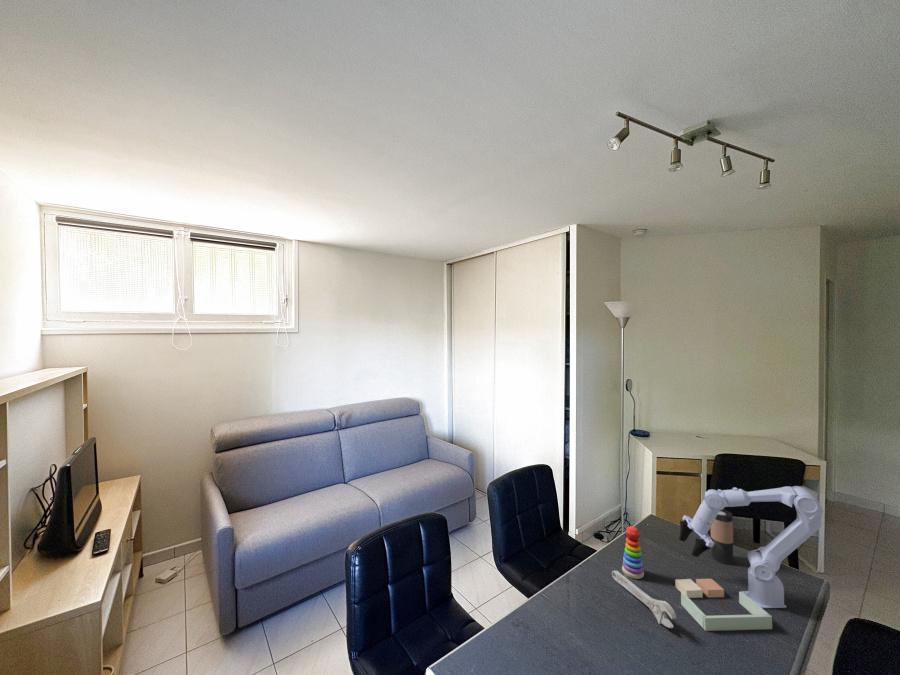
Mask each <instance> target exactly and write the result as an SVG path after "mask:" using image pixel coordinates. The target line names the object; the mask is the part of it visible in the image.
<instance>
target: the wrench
mask: <svg viewBox="0 0 900 675" xmlns="http://www.w3.org/2000/svg"><path fill="white" fill-rule="evenodd" d="M611 575H612V576H611V577H612V579H613V580H615V581H616V582H617V583H618V584H619V585H621V587H623V588H625V589H626V591H628V592H629V593H631V594H632V595H633V596H634V597H636V598H637V599H638V600H639V601H640V602H642V603H643V604H644V605H645V606H646V607H648V608H649V610H650V611H651V612H652V614H653V615H654V617H655V619H656V621H657V623H658V625H663V626H665V628H668V629H674V624H673V623H672V622H671V620H676V619H677V615H676V612H675V610H674V608H673V607H672V606H671V604H670V603H668V602H667V601H666V600H660V599H656V598H653V597H651V596H650V595H649V594H647V593H646V592H645V591H643V590H642V589H641V588H639V587H638V586H637V585H636V584H634V583H633V582H632V581H631V580H629V579H628V578H627V577H625V576H624V575H623V574H622V573H620V571H618V570H613V571H611ZM667 615H668V617H669V618H670V619H671V620H670V619H669V618H668V617H667Z"/></svg>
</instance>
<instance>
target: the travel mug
mask: <svg viewBox="0 0 900 675" xmlns="http://www.w3.org/2000/svg"><path fill="white" fill-rule="evenodd" d="M733 519H734V518H733V513H732V512H731V511H730V510H729V511H728V510H726V509H725V508H724V509H722V510H719V512H718V515H717V516H716V518H715V520H714V522H713V524H712V526H711V527H710V538H711V540H712V541H713V543H714V545H713V547H712V548H711V549H710V551H711V557H713V558H712V559H713V560H714V559H715V560H714V561H716V560H717V561H716V562H718V563H720V562H721V563H720V564H725V565H732V564H733V562H734V525H733V524H734V523H733Z"/></svg>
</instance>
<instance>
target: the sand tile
mask: <svg viewBox="0 0 900 675" xmlns="http://www.w3.org/2000/svg"><path fill="white" fill-rule="evenodd" d="M674 583H675V584H674V586H675V588H676V589H677V590H678V591H679V592H680V594H681V593H684V594H685V595H686V596H687V597H688V598H689V599H697V598H698V599H699V598H700V599H703V595H704V593H703V590H702V589H701V588H700V587H699V586H698V585H697V584H696V582H694V581H693V580H692V579H691V578H685V579H684V578H683V579H682V578H681V579H679V578H677V579H675V582H674Z"/></svg>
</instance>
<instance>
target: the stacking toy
mask: <svg viewBox="0 0 900 675" xmlns="http://www.w3.org/2000/svg"><path fill="white" fill-rule="evenodd" d="M625 534H626V538H625V547H624V552H623V557H622V558H623V559H622V560H623V561H622V566H621V570H622V573H623V574H624V575H626V576H627V577H629V578H631V579H633V580H634V579H635V580H639V579H643V578H644V576H645V571H644V570H645V569H644V566H643V561H642V560H643V557H642V551H641V549H642V546H641V542H640V540H639V539H640V537H641V533H640V531H639V529H638V528H637V527H636V526H633V525H631V526H628V527H626V530H625Z"/></svg>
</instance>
